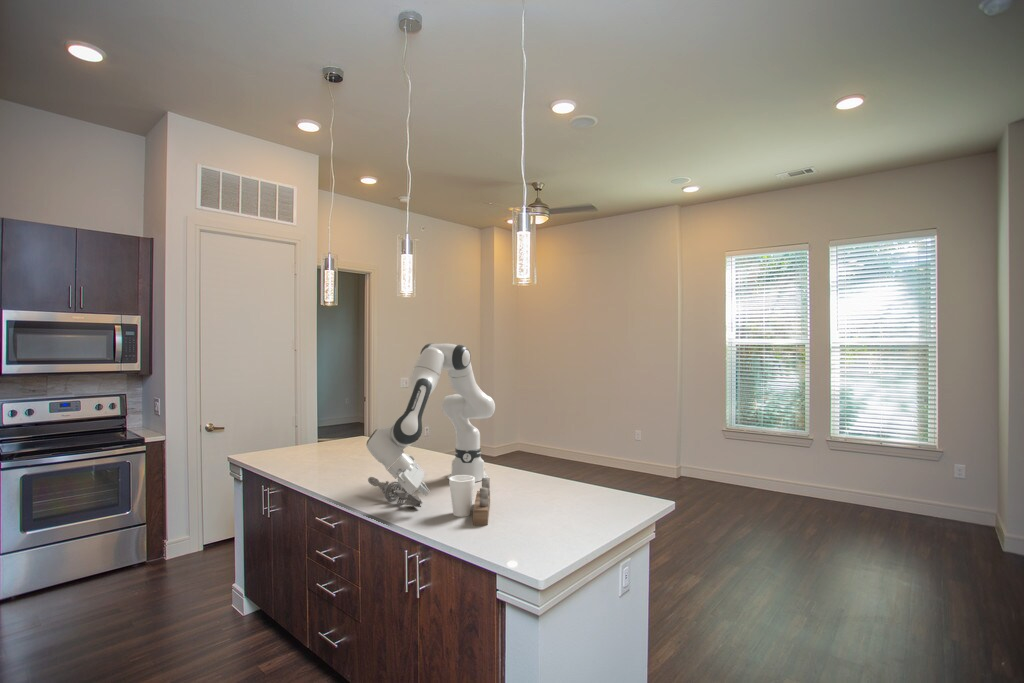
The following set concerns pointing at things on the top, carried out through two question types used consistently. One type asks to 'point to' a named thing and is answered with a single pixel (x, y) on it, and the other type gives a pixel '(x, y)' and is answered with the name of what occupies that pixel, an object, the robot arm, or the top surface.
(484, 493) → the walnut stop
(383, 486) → the spaceship
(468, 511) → the foam cup
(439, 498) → the top surface
